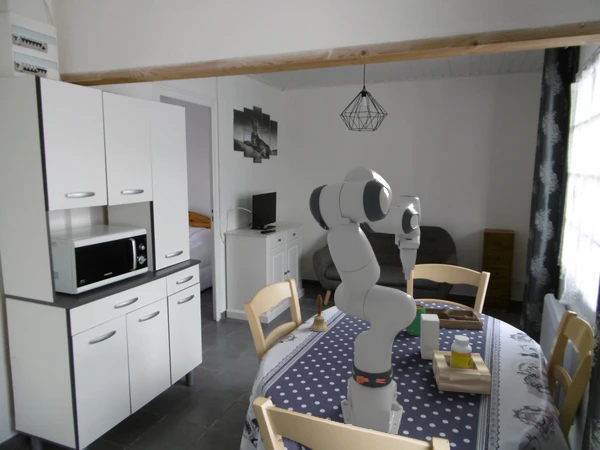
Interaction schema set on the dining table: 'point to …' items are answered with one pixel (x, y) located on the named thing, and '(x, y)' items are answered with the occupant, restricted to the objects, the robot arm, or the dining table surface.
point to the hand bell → (319, 318)
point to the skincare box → (429, 335)
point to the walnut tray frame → (458, 323)
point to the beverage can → (416, 322)
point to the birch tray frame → (461, 374)
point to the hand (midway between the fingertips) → (406, 276)
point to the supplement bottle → (461, 353)
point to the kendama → (448, 313)
